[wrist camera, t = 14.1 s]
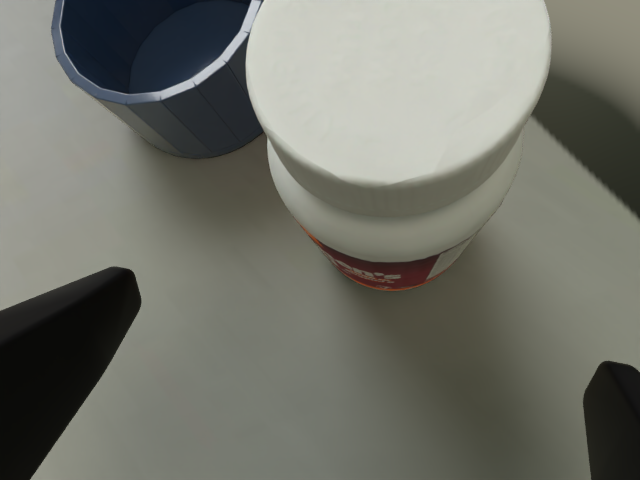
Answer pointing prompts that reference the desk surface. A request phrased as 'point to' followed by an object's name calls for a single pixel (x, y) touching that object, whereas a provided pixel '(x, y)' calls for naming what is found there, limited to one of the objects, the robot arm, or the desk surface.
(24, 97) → the desk surface
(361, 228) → the pill bottle
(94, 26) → the cup
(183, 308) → the desk surface
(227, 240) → the desk surface
